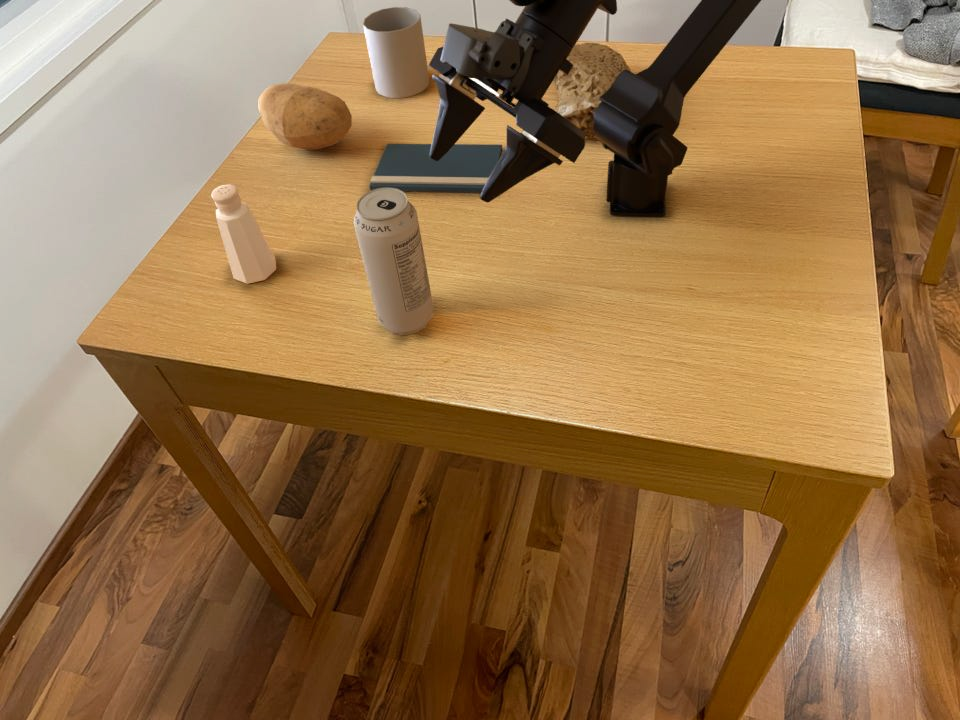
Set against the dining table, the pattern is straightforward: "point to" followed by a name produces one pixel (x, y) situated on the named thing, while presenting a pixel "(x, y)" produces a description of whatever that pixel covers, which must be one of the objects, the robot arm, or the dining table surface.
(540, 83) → the robot arm
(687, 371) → the dining table surface
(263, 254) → the pepper shaker
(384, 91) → the cup
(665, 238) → the dining table surface
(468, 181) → the book
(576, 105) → the sponge
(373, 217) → the energy drink can
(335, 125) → the potato
